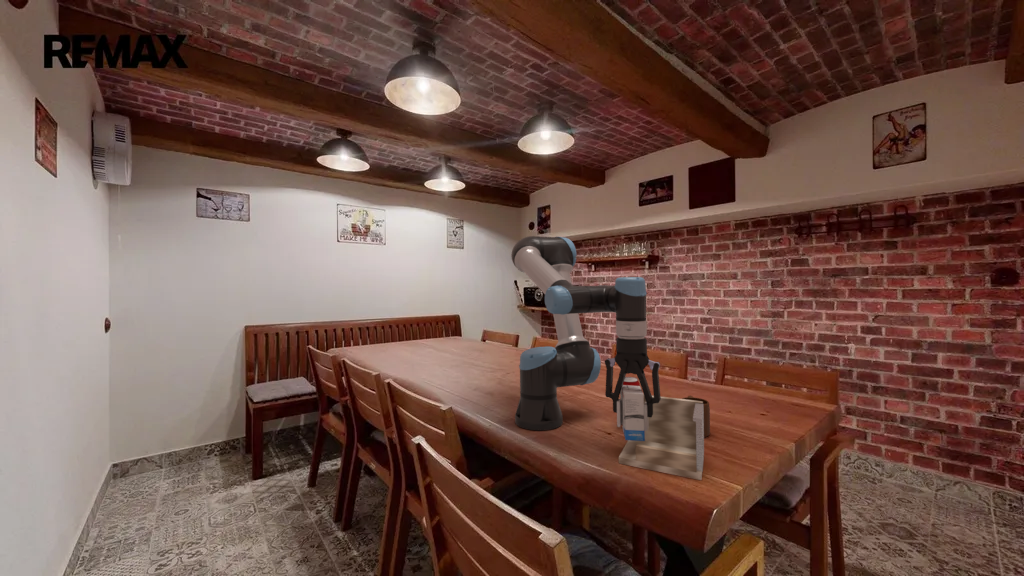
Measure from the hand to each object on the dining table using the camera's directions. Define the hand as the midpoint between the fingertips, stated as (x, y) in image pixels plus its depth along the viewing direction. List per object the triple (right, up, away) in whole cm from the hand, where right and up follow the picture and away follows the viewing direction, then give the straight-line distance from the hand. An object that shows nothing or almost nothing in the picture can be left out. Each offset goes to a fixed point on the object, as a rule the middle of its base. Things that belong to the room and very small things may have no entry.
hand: (632, 427), depth 97 cm
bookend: (+13, -5, -7) cm, 16 cm away
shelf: (+6, -7, -3) cm, 10 cm away
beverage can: (+5, -7, +18) cm, 20 cm away
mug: (+23, -7, +15) cm, 28 cm away
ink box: (0, -2, 0) cm, 2 cm away
